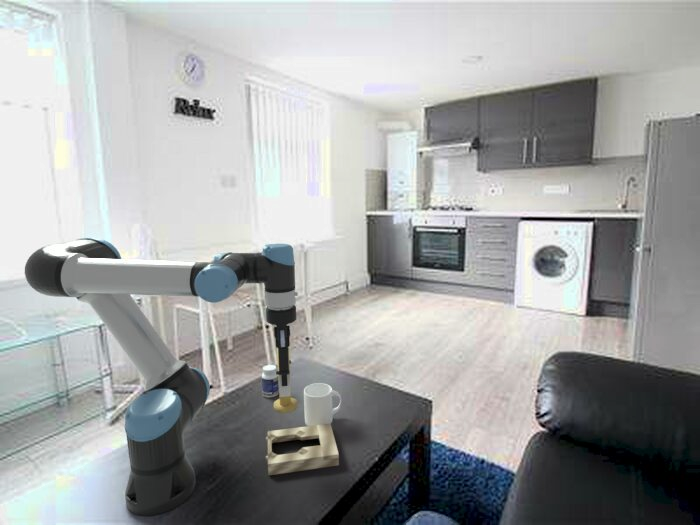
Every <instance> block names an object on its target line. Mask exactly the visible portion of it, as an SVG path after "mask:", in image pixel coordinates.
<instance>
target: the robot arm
mask: <svg viewBox="0 0 700 525" xmlns="http://www.w3.org/2000/svg"><path fill="white" fill-rule="evenodd" d="M295 262H296V261H295V256H294V248H293V247H292V245H290V244H288V243H269V244H265V245H264V246H263V247H262V250H261V252H229V251H228V252H226V253H225V252H223V253H218V254H216V255H215V256H214V258H213V259H212V261H210V262H209V261H208V262H207V261H185V260H184V261H183V260H181V261H179V260H155V259H154V260H152V259H151V260H150V259H128V258H127V259H125V258H124V259H123V258H122V257H121V254H120V252H119V251H118V249H117V248H116V246H114V245H113V244H112V243H110V242H109V241H107V240H105V239H102V238H97V237H87V238H86V237H84V238H77V239H75V240H71V241H65V242H61V243H60V242H59V243H55V244H48V245H45V246H42V247H40V248H39V249H36V250H35V251H34V252H33V253H32V254H31V255H30V256H29V257H28V259H27V260H26V263H25V266H24V276H25V279H26V281H27V283H28V285H29V286H30V287H31V288H32V289H33V290H35V291H36V292H38V293H40V294H41V295H44V296H49V297H54V298H55V297H57V298H58V297H59V298H61V297H62V298H76V299H77V300H78V302H81V303H87V304H89V305H90V307H91V308H92V310H94V312H95V313H96V315H97V316H98V318H99V319H100V321H102V323H103V324H104V325H105V327H106V328H107V330H108V331H109V332H110V334H111V335H112V337H113V338H114V339H115V341H116V342H117V343H118V344H119V346H120V348H121V349H122V351H123V352H124V353H125V354H126V356H127V357H128V359H129V360H130V362H132V364H133V365H134V367H135V369H137V371H138V372H139V374H141V376H142V378H143V379H144V380H145V383H144V388H143V391H144V392H145V394H140V395H139V396H137V397H136V398H135V399H133V401H131V402H130V403H129V405H128V406H127V408H126V410H125V413H124V431H125V435H126V441H127V449H128V450H127V451H128V456H129V458H128V459H129V464H130V472H129V475H128V479H127V483H126V486H125V488H126V489H125V492H124V493H125V495H124V497H125V505H126V507H127V508H126V509H128V511H130V512H131V513H132V514H135V515H138V516H143V517H144V516H146V515H147V516H148V515H149V516H155V514H156V515H160V514H163V513H165V512H168V511H171V510H173V509H175V508H177V507H179V506H180V505H181V504H182V503H183V502H185V501H186V500H187V499H188V498H189V497H190V496H191V495H192V493H193V491H194V490H195V488H196V483H197V482H196V480H197V479H196V472H195V470H194V468H193V466H192V464H191V461H190V460H189V459H188V456H187V455H186V448H185V438H184V437H185V431H186V430H187V429H188V428H189V426H190V424H192V422H193V421H194V419H195V418H196V417H197V415H198V414H199V412H201V411H202V409H203V408H204V406H205V405H206V402H207V400H208V398H209V395H210V392H211V391H210V390H211V387H210V386H211V385H210V381H209V378H208V377H207V375H206V374H205V373H204V372H203V371H202V370H200V369H199V368H195V367H194V366H189V365H188V363H187V362H186V361H185V360H181V359H177V358H176V357H175V356H174V354H173V353H172V351H171V350H170V349H169V347H168V346H167V345H166V342H164V340H163V339H162V338H161V336H160V334H158V331H157V330H156V329H155V327H154V326H153V325H152V324H151V322H150V321H149V319H148V318H147V316H146V315H145V314H144V312H143V310H141V308H140V307H139V305H138V303H137V301H135V299H134V298H133V296H132V295H135V296H137V295H139V296H143V295H144V296H167V297H168V296H169V297H170V296H174V297H175V296H176V297H198V298H200V299H201V300H204V301H205V302H207V303H219V302H222V301H224V300H226V299H228V298H230V297H231V296H232V295H233V294H234V293H236V291H238V289H239V288H241V287H242V286H244V285H245V284H263V285H264V305H265V306H266V307H265V319H266V322H267V323H268V324H270V325H272V326H273V325H275V326H273V335H274V338H275V348H276V349H277V348H278V358H279V371H278V370H277V371H276V375H278V374H279V379H278V383H279V392H280V397H286V396H290V385H291V370H290V371H289V363H290V365H291V364H292V362H291V360H290V356H289V357H288V348H290V344H291V342H290V336H291V329H290V328H291V327H290V325H289V324H293V323H294V322H296V320H297V306H296V305H295V304H296V297H297V296H299V292H298V291H296V270H295V269H296V267H295V266H296V265H295V264H296V263H295ZM289 373H290V374H289ZM149 516H148V517H149Z"/></svg>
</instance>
